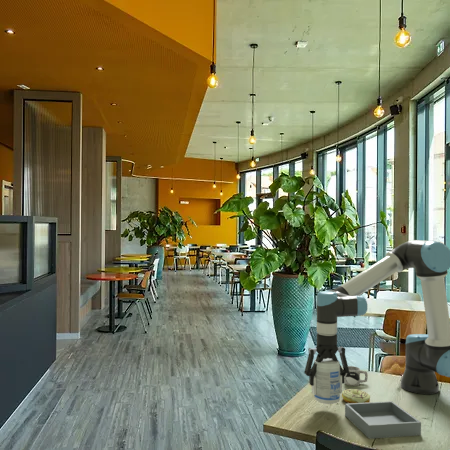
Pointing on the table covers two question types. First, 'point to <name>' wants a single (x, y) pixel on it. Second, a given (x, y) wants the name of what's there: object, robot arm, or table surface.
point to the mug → (354, 376)
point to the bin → (382, 419)
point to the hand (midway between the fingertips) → (326, 392)
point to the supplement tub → (327, 381)
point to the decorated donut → (355, 396)
